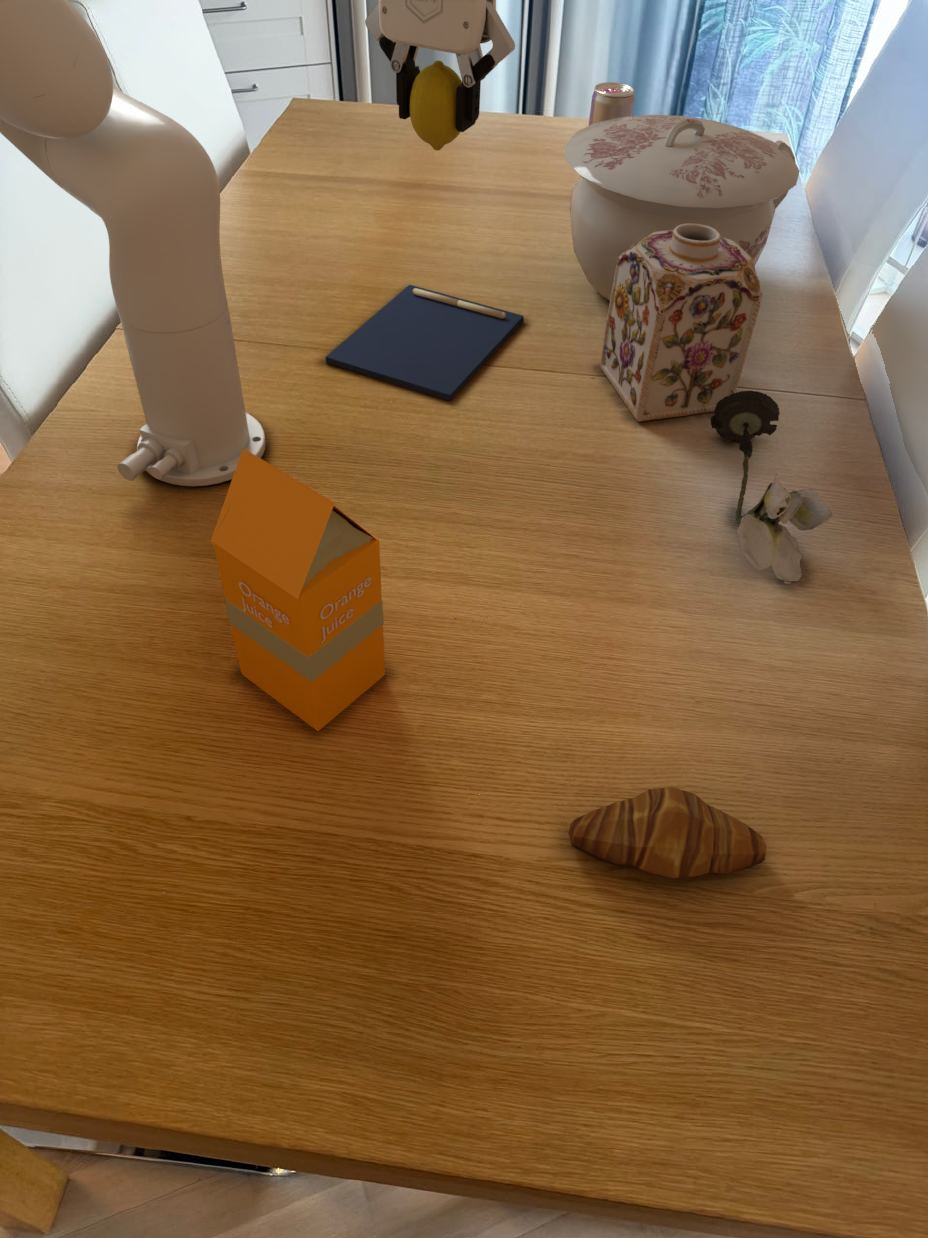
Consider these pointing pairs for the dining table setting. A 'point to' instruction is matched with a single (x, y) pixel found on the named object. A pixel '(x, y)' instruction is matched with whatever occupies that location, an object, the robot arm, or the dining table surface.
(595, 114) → the beverage can
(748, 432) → the artificial flower
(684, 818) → the croissant
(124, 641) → the dining table surface
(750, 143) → the chamber pot
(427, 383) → the clipboard
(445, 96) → the lemon
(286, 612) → the orange juice
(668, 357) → the decorative jar
